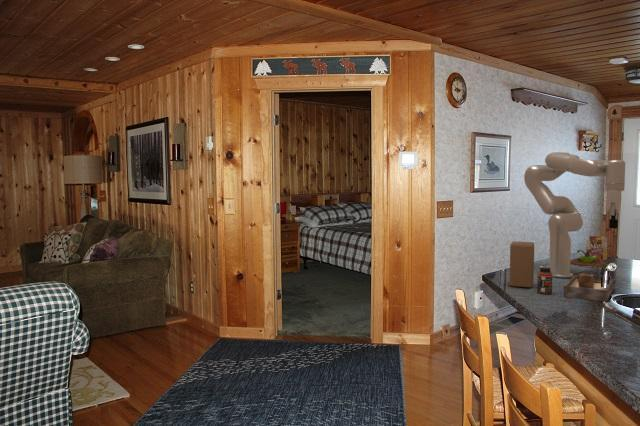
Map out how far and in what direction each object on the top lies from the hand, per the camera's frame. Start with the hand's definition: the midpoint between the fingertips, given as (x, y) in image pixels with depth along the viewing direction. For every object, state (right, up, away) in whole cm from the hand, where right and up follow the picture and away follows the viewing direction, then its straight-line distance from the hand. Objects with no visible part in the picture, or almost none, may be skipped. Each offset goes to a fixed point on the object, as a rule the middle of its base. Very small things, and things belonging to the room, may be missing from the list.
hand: (613, 228), depth 224 cm
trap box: (-15, -28, -8) cm, 33 cm away
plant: (+19, -24, +58) cm, 66 cm away
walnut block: (-20, -25, -14) cm, 35 cm away
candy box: (+32, -22, +71) cm, 81 cm away
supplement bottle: (-35, -28, -8) cm, 45 cm away
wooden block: (-38, -27, +8) cm, 48 cm away
